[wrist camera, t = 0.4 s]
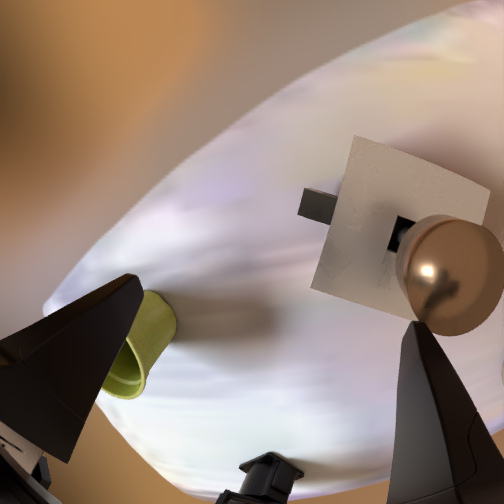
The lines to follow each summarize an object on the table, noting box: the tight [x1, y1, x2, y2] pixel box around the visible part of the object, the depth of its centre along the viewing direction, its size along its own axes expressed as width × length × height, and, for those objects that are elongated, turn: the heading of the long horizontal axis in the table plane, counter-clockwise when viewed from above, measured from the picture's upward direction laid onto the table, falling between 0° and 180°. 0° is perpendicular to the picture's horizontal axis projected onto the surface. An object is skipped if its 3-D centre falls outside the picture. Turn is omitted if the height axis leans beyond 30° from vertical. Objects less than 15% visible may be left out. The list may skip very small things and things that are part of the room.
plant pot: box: [101, 291, 177, 400], centre depth 25 cm, size 9×9×9 cm
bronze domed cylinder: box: [395, 214, 504, 336], centre depth 11 cm, size 4×4×9 cm
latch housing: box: [297, 135, 490, 321], centre depth 18 cm, size 9×11×7 cm
